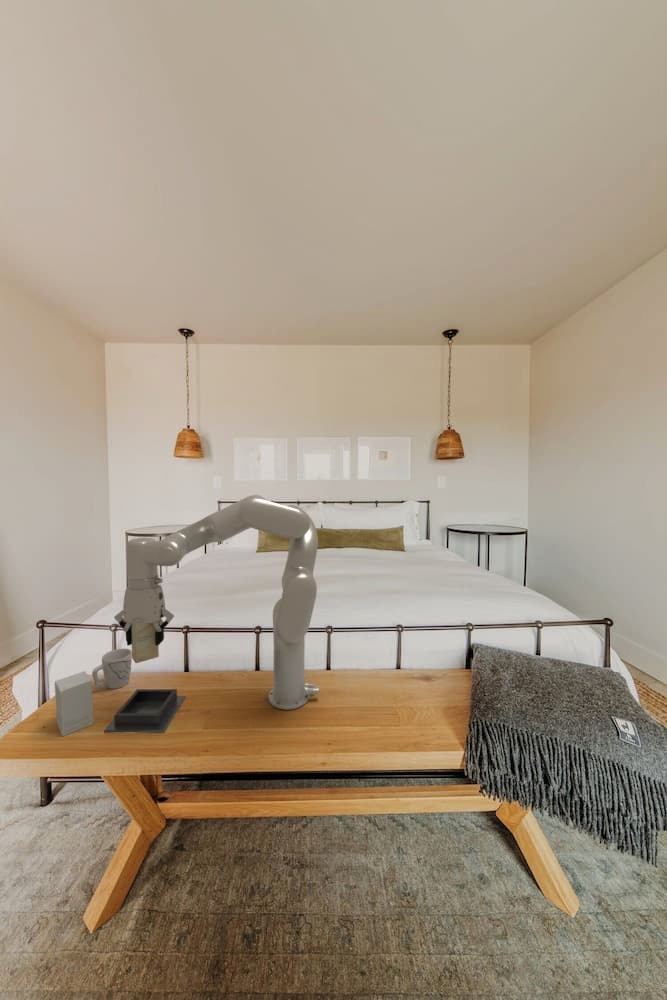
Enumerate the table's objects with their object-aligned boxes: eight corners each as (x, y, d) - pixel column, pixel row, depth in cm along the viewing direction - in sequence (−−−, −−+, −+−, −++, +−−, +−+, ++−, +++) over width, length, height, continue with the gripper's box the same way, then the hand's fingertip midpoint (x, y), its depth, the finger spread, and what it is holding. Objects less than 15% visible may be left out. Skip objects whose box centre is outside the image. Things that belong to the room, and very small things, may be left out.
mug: (99, 699, 113) (97, 668, 112) (88, 689, 118) (86, 659, 117) (137, 682, 122) (136, 653, 121) (125, 673, 127) (124, 645, 127)
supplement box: (94, 724, 102) (92, 680, 101) (61, 737, 97) (59, 692, 96) (87, 711, 108) (85, 670, 107) (56, 723, 102) (53, 680, 101)
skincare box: (135, 664, 101) (133, 621, 100) (131, 658, 105) (129, 616, 104) (159, 656, 105) (158, 615, 104) (155, 650, 109) (153, 610, 108)
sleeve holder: (185, 698, 114) (185, 686, 114) (163, 732, 99) (163, 719, 99) (133, 698, 114) (133, 686, 114) (104, 732, 99) (103, 719, 99)
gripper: (179, 578, 107) (181, 637, 109) (119, 578, 107) (121, 637, 108) (168, 586, 100) (170, 649, 101) (103, 586, 99) (106, 649, 101)
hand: (145, 642), depth 105 cm, fingers closed on skincare box, 7 cm apart
